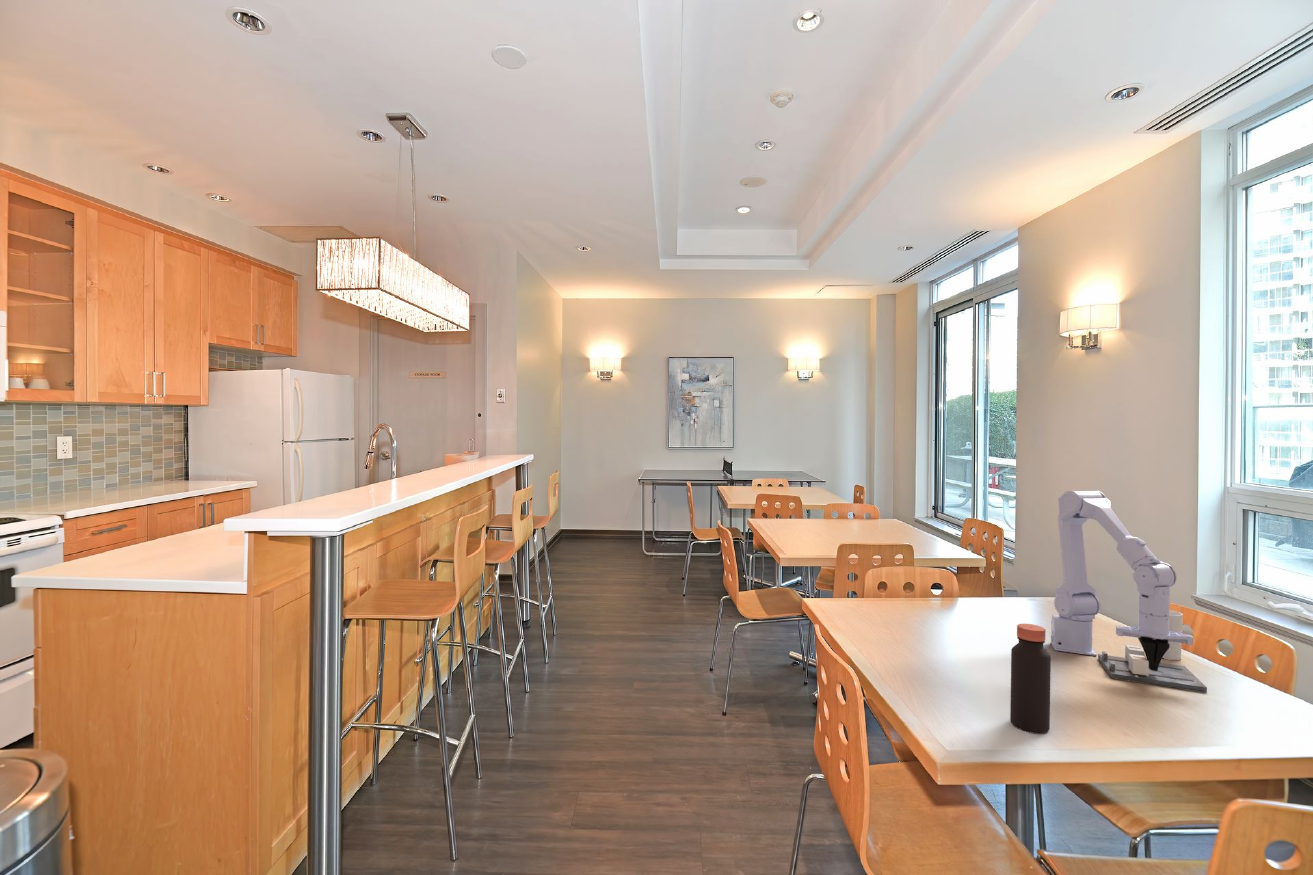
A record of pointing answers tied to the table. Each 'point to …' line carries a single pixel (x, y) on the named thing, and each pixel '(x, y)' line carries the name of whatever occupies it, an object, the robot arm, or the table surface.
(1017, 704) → the bottle
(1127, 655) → the fader far
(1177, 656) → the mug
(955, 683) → the table surface
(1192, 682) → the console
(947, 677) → the table surface
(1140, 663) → the fader near
